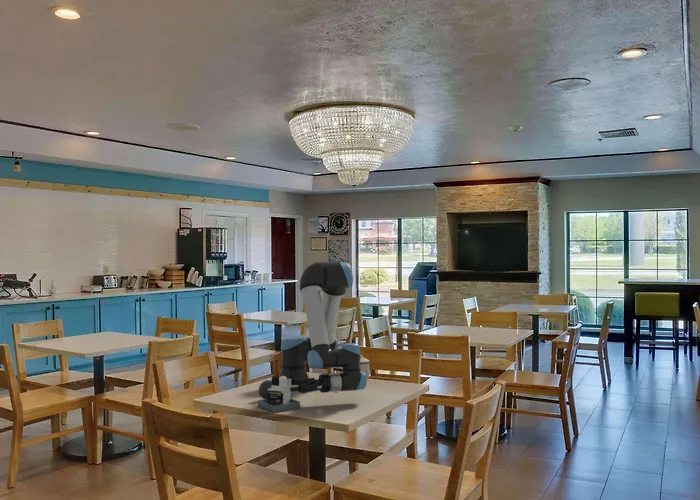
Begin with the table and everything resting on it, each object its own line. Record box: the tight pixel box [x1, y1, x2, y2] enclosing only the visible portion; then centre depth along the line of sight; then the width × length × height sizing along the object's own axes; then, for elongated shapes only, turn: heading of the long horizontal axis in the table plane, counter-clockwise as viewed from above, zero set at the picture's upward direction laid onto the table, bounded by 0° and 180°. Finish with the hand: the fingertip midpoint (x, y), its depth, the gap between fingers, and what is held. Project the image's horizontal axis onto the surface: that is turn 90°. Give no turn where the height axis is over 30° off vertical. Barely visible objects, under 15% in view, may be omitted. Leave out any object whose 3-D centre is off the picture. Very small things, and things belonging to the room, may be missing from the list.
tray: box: [257, 398, 301, 414], centre depth 245 cm, size 12×12×3 cm
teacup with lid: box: [360, 354, 370, 380], centre depth 303 cm, size 12×9×12 cm
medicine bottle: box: [267, 374, 292, 406], centre depth 245 cm, size 7×7×12 cm
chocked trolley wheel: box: [258, 379, 272, 400], centre depth 260 cm, size 3×11×8 cm, turn 128°
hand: (278, 386), depth 245 cm, fingers open, 13 cm apart
